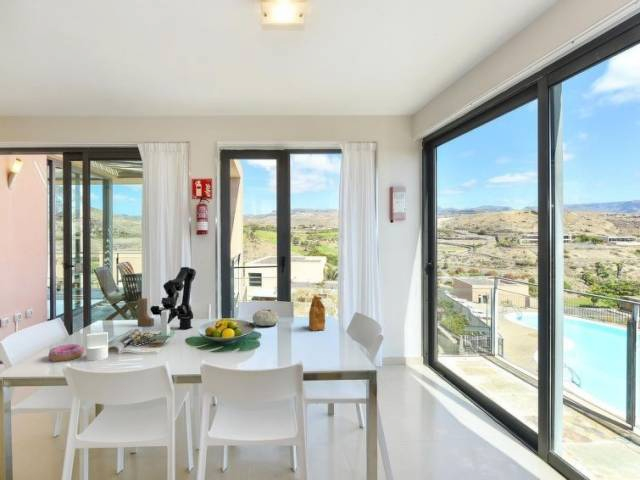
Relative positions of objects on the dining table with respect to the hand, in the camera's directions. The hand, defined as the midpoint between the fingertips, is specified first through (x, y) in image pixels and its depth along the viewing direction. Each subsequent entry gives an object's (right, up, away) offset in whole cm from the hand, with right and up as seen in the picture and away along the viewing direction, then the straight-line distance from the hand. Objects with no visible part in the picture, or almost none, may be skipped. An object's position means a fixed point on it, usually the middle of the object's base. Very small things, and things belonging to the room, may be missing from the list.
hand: (164, 323), depth 198 cm
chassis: (-17, -12, +6) cm, 22 cm away
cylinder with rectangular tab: (-25, -13, -20) cm, 34 cm away
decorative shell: (+49, -12, +46) cm, 68 cm away
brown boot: (-31, -11, +41) cm, 53 cm away
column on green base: (0, -7, +2) cm, 7 cm away
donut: (-40, -13, -20) cm, 47 cm away
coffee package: (+84, -12, +37) cm, 92 cm away
